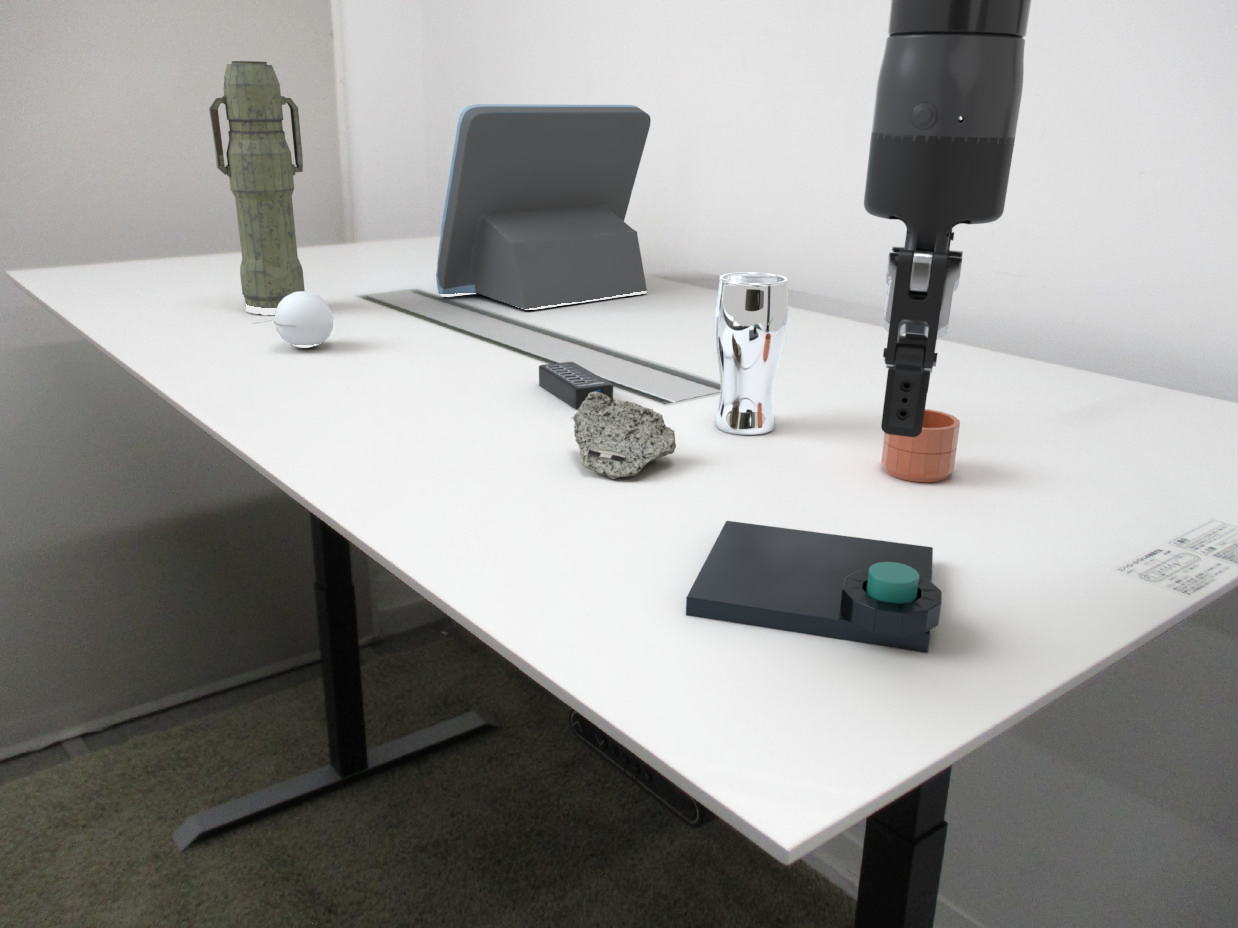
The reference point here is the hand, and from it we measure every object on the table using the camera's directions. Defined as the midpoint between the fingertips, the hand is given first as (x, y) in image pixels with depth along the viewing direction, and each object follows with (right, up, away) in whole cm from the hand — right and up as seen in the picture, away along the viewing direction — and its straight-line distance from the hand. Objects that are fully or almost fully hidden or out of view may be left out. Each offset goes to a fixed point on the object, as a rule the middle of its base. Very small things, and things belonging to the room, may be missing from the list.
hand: (905, 413), depth 60 cm
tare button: (0, -11, +2) cm, 11 cm away
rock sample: (-16, -3, +31) cm, 35 cm away
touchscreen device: (-28, +25, +107) cm, 114 cm away
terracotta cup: (+10, -4, +30) cm, 32 cm away
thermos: (-69, +20, +93) cm, 117 cm away
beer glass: (-4, +1, +42) cm, 42 cm away
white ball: (-59, +12, +70) cm, 92 cm away
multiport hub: (-22, +4, +52) cm, 56 cm away
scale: (-4, -12, +8) cm, 15 cm away
